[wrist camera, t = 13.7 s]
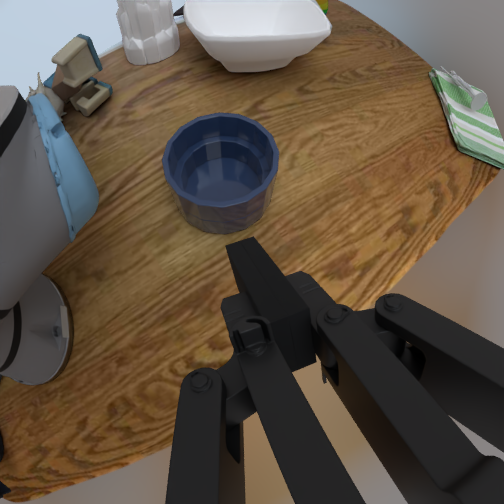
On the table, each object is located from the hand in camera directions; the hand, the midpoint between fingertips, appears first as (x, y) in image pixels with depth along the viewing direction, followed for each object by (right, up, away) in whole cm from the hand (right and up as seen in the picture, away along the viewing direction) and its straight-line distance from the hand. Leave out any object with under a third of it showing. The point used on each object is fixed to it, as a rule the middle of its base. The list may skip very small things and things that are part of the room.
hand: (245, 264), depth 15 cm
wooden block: (-29, +26, +19) cm, 43 cm away
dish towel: (+47, +29, +30) cm, 63 cm away
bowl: (0, +36, +30) cm, 47 cm away
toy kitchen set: (-33, +29, +19) cm, 47 cm away
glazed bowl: (-3, +8, +22) cm, 24 cm away
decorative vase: (-19, +40, +31) cm, 54 cm away
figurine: (+47, +31, +26) cm, 62 cm away
